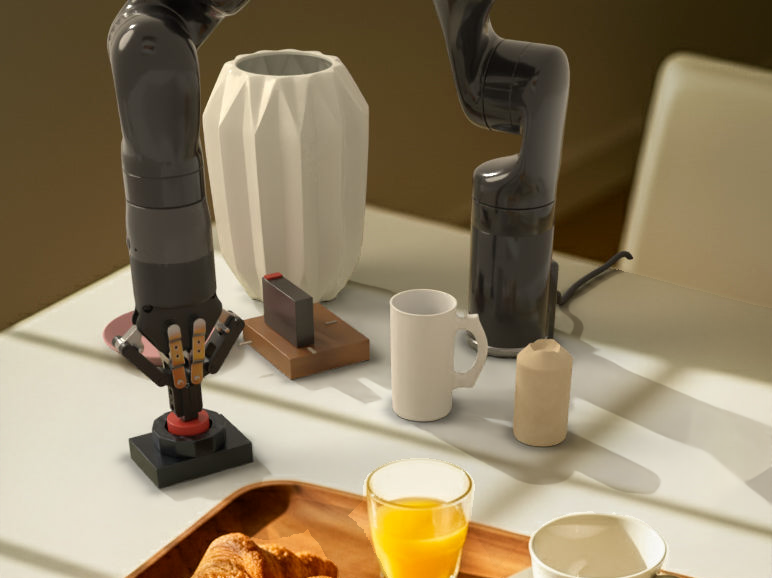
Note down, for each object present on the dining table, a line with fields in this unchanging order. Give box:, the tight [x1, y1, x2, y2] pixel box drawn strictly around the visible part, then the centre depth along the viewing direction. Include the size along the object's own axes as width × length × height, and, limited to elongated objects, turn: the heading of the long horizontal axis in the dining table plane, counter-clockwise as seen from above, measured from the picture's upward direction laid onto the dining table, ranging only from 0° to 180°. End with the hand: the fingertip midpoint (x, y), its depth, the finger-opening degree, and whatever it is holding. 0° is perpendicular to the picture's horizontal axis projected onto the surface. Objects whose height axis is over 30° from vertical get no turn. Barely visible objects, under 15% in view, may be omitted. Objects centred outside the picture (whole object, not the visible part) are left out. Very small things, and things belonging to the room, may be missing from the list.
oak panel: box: [239, 302, 371, 381], centre depth 152 cm, size 13×12×3 cm
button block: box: [128, 407, 254, 490], centre depth 132 cm, size 10×7×4 cm
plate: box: [102, 310, 215, 367], centre depth 154 cm, size 14×14×2 cm
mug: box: [389, 288, 488, 422], centre depth 139 cm, size 10×7×12 cm, turn 84°
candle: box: [512, 339, 574, 447], centre depth 135 cm, size 6×6×10 cm
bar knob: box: [262, 272, 314, 348], centre depth 150 cm, size 8×2×6 cm, turn 32°
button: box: [167, 410, 210, 436], centre depth 131 cm, size 4×4×2 cm
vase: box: [202, 48, 370, 304], centre depth 161 cm, size 20×20×28 cm
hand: (187, 416), depth 130 cm, fingers closed
